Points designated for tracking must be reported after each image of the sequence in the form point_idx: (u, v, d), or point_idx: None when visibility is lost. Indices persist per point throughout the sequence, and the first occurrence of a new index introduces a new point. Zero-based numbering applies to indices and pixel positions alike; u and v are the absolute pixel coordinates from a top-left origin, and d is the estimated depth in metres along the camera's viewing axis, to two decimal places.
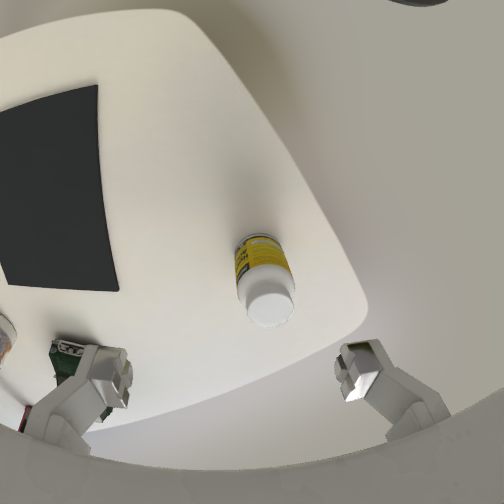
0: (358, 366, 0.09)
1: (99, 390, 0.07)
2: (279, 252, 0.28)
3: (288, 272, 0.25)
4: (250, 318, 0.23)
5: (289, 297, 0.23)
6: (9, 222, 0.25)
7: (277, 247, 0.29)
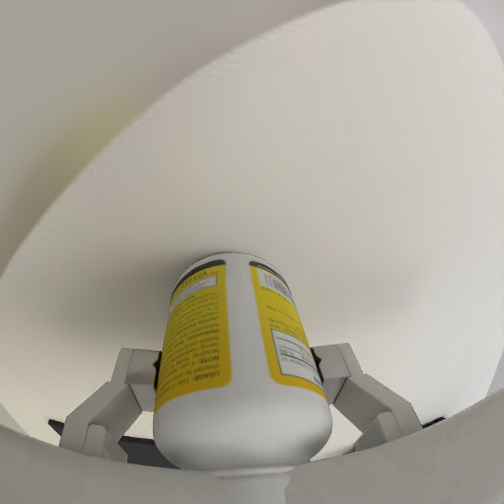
0: (323, 371, 0.08)
1: (137, 395, 0.08)
2: (171, 328, 0.09)
3: (168, 408, 0.06)
4: None
5: None
6: None
7: (173, 310, 0.10)
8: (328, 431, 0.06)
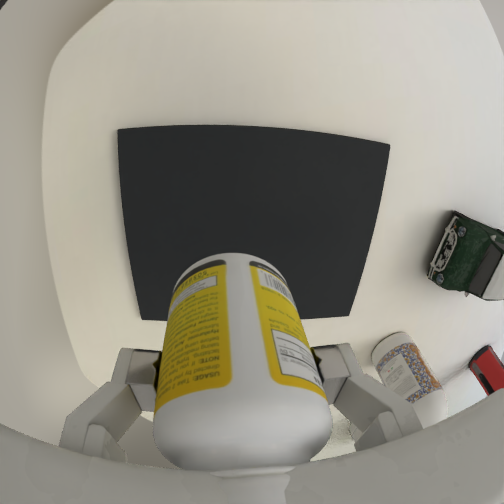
0: (323, 371, 0.08)
1: (137, 395, 0.08)
2: (171, 328, 0.09)
3: (168, 408, 0.06)
4: None
5: None
6: None
7: (173, 310, 0.10)
8: (328, 431, 0.06)
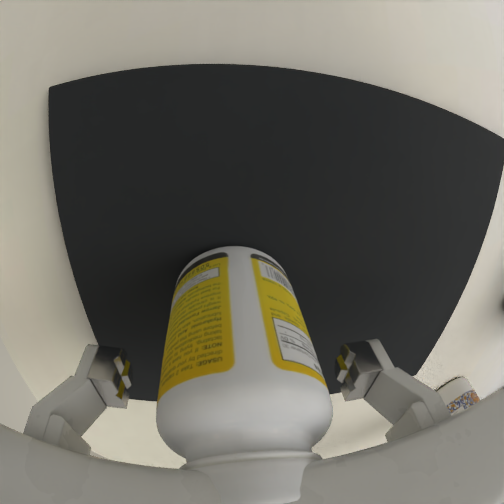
0: (358, 366, 0.09)
1: (99, 390, 0.07)
2: (174, 318, 0.09)
3: (172, 394, 0.06)
4: None
5: None
6: (330, 355, 0.16)
7: (176, 301, 0.10)
8: (329, 418, 0.07)
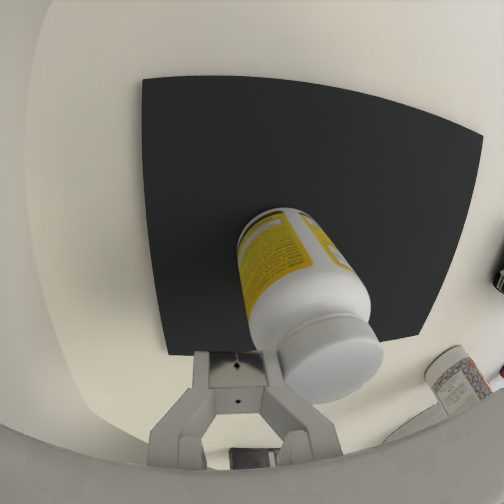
0: (238, 378, 0.08)
1: (218, 399, 0.08)
2: (253, 252, 0.13)
3: (272, 288, 0.10)
4: (339, 397, 0.10)
5: (306, 351, 0.08)
6: None
7: (250, 243, 0.14)
8: (369, 307, 0.11)
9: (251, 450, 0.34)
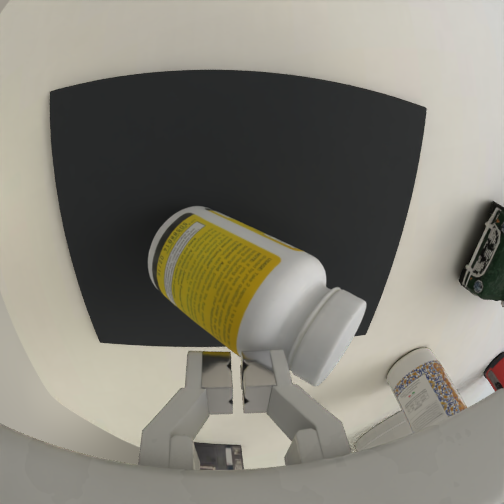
0: (247, 378, 0.08)
1: (211, 399, 0.08)
2: (193, 267, 0.11)
3: (258, 297, 0.10)
4: None
5: (333, 336, 0.09)
6: None
7: (178, 259, 0.12)
8: None
9: (208, 445, 0.34)
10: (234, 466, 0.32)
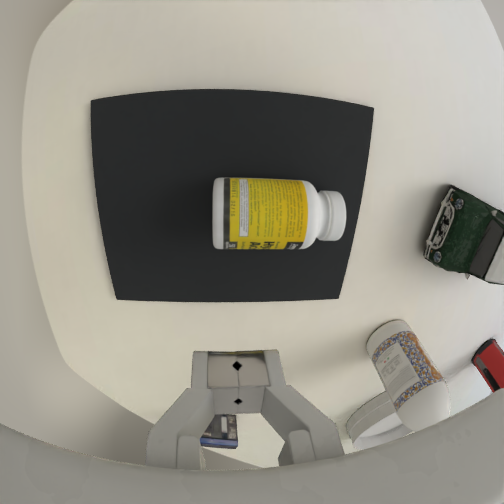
0: (240, 378, 0.08)
1: (217, 399, 0.08)
2: (264, 196, 0.19)
3: (308, 193, 0.19)
4: None
5: (341, 200, 0.20)
6: (252, 260, 0.26)
7: (249, 196, 0.19)
8: None
9: None
10: (228, 433, 0.37)
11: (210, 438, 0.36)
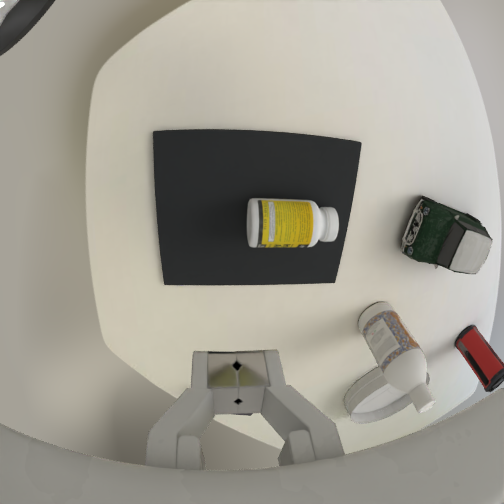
0: (240, 378, 0.08)
1: (217, 399, 0.08)
2: (285, 215, 0.29)
3: (314, 213, 0.29)
4: None
5: (336, 216, 0.30)
6: (271, 253, 0.36)
7: (275, 216, 0.29)
8: None
9: None
10: None
11: None
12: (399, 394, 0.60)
